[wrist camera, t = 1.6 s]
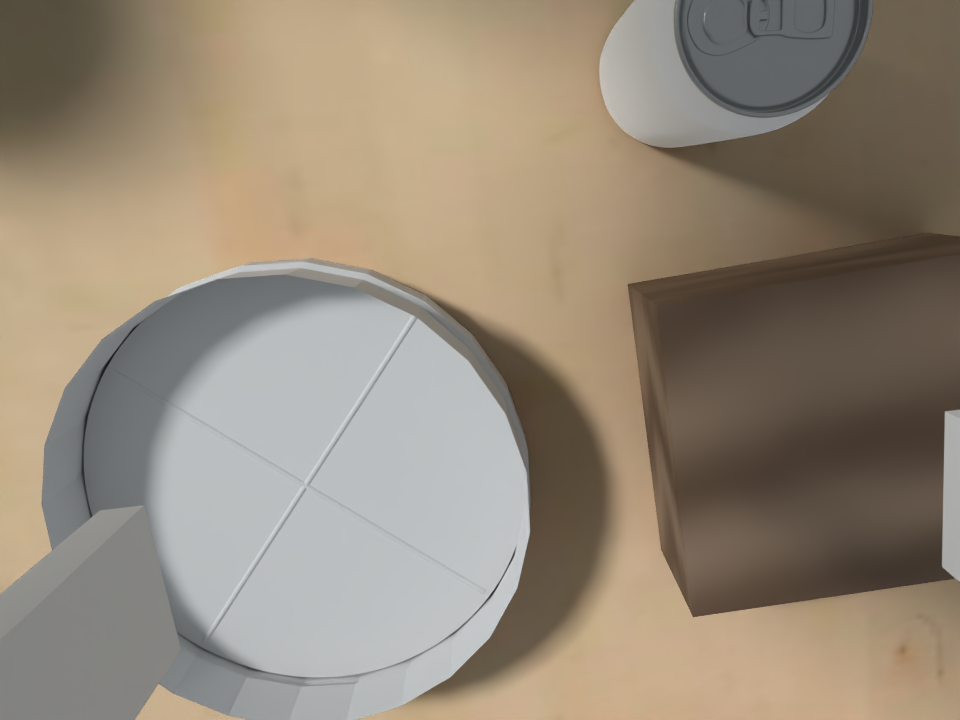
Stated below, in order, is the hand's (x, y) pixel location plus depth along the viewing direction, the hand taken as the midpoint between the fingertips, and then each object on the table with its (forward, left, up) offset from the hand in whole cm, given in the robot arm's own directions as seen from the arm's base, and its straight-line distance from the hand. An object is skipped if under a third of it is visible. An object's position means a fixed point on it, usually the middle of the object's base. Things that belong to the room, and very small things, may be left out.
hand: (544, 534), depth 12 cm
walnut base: (+7, +13, -24) cm, 28 cm away
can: (-9, +9, -24) cm, 27 cm away
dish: (+7, -11, -24) cm, 27 cm away
